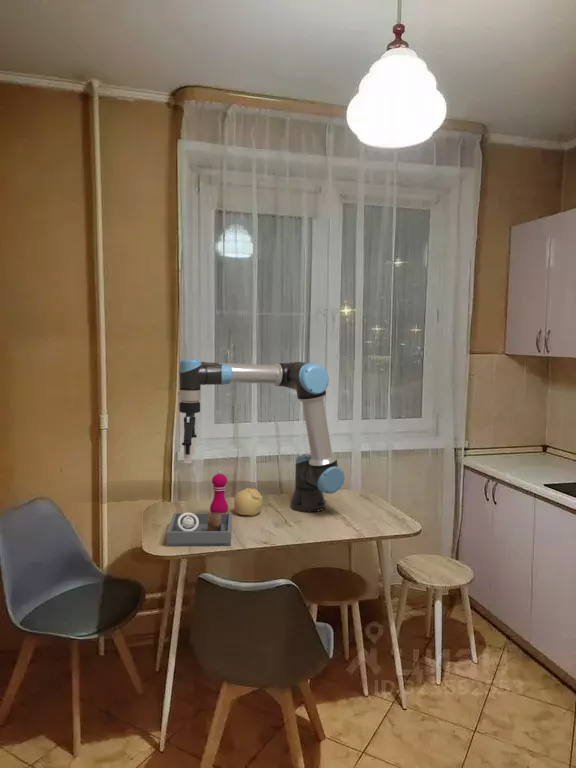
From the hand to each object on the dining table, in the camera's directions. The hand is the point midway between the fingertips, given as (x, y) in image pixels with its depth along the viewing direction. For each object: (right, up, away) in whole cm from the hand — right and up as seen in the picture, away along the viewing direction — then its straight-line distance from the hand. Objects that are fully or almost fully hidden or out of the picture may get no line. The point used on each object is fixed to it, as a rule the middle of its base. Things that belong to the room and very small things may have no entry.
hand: (189, 459), depth 217 cm
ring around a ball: (-1, -28, +3) cm, 28 cm away
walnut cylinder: (+9, -28, +3) cm, 29 cm away
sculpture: (+20, -27, +30) cm, 45 cm away
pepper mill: (+8, -27, +22) cm, 36 cm away
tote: (+4, -29, +3) cm, 29 cm away
